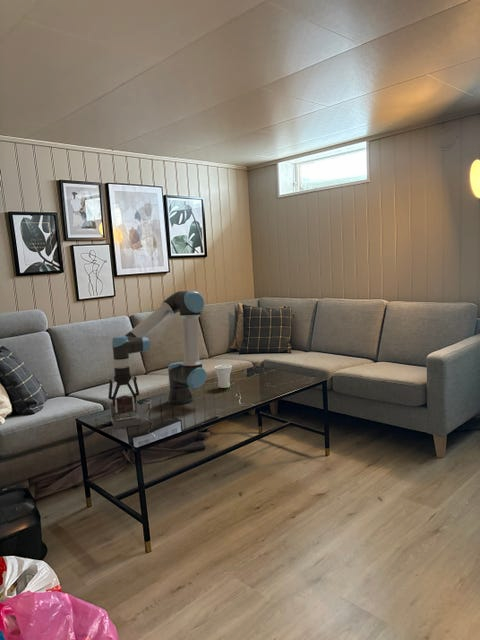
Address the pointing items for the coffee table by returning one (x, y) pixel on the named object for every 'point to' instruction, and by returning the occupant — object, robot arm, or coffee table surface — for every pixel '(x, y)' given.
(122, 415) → the pan
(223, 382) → the cup
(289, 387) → the coffee table surface
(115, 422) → the scale
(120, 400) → the box
